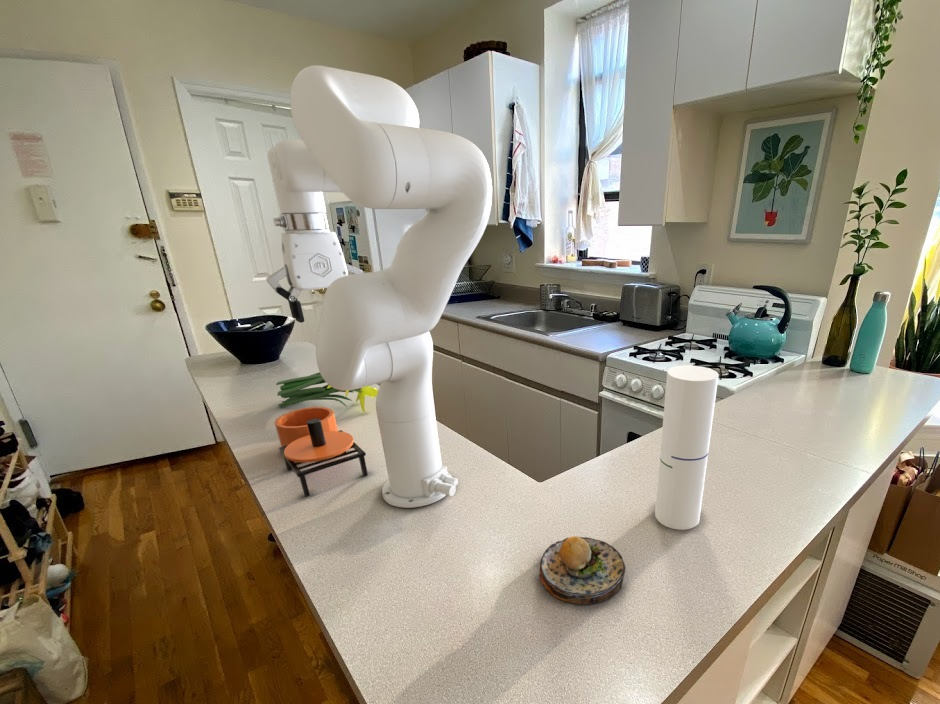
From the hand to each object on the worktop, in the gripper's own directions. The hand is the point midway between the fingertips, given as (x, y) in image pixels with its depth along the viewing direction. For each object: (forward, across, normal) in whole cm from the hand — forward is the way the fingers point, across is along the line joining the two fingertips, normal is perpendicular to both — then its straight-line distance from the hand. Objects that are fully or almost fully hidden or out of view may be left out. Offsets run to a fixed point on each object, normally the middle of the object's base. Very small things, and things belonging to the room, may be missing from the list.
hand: (326, 317), depth 92 cm
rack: (+28, -9, -8) cm, 31 cm away
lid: (+23, -9, -8) cm, 26 cm away
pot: (+28, -7, +5) cm, 30 cm away
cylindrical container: (+28, +28, -65) cm, 77 cm away
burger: (+28, +7, -63) cm, 70 cm away
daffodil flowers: (+28, +3, +26) cm, 38 cm away
